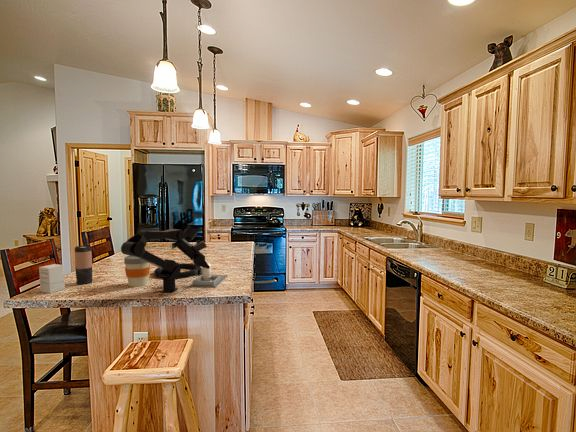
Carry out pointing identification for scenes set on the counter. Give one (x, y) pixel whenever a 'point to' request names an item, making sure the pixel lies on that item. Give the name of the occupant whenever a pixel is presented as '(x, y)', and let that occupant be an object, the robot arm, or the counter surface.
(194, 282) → the holder dock
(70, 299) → the counter surface
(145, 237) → the robot arm
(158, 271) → the cable lock
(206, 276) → the light bulb lamp
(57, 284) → the supplement box
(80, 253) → the travel mug
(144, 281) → the reusable coffee cup
